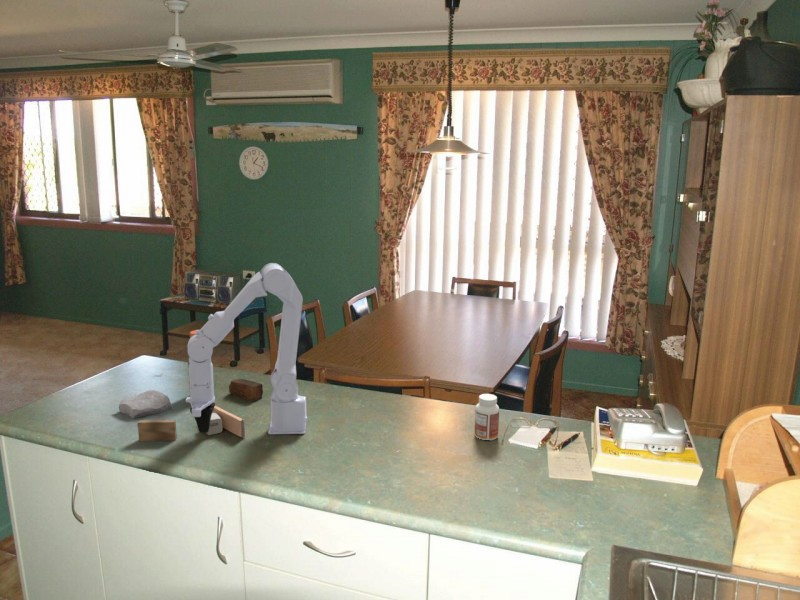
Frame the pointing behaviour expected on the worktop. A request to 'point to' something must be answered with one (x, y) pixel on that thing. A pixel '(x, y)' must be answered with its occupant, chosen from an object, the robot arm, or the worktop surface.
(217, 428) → the usb wall charger
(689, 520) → the worktop surface
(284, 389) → the robot arm
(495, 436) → the pill bottle
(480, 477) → the worktop surface
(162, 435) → the brown wooden board
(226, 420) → the light wood thin slab
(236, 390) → the brick
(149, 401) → the stone block
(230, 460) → the worktop surface
